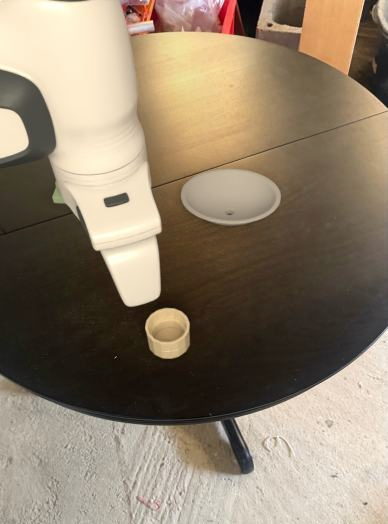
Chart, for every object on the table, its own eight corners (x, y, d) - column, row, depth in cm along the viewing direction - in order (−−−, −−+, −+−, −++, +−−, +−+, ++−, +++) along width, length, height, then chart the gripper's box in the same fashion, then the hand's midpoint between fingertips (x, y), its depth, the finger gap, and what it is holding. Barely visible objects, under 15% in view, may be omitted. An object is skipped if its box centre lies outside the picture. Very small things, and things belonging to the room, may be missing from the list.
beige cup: (145, 359, 71) (142, 342, 67) (151, 324, 75) (148, 306, 71) (188, 361, 71) (187, 345, 67) (191, 326, 74) (191, 309, 70)
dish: (179, 243, 84) (177, 221, 80) (184, 189, 92) (183, 167, 88) (279, 245, 83) (283, 224, 79) (275, 191, 91) (279, 169, 87)
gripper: (49, 120, 50) (80, 220, 62) (95, 252, 39) (122, 343, 51) (107, 106, 51) (126, 207, 63) (167, 232, 40) (177, 325, 52)
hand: (125, 269), depth 57 cm, fingers open, 8 cm apart
